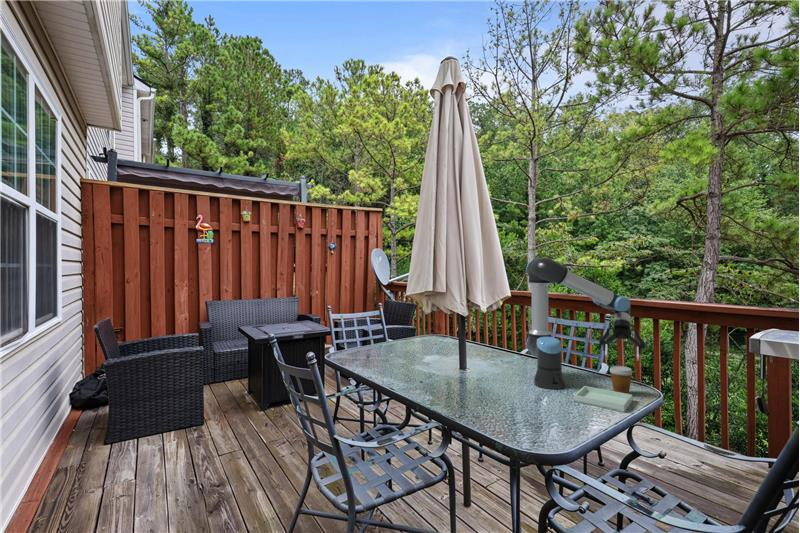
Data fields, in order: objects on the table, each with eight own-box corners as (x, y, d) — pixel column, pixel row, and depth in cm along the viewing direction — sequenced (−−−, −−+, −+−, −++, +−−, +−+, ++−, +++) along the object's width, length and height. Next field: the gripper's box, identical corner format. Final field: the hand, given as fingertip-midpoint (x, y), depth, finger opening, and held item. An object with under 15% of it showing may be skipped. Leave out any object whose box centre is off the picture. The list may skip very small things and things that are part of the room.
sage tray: (573, 401, 174) (573, 395, 174) (584, 392, 186) (584, 385, 186) (624, 412, 161) (624, 405, 161) (632, 401, 173) (632, 394, 173)
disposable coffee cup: (621, 398, 177) (620, 372, 177) (605, 391, 186) (604, 366, 186) (637, 395, 180) (637, 370, 179) (621, 389, 189) (620, 364, 189)
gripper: (650, 328, 200) (651, 364, 188) (596, 325, 213) (594, 359, 201) (650, 320, 196) (651, 356, 183) (595, 317, 208) (593, 351, 196)
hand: (621, 357), depth 192 cm, fingers open, 13 cm apart
